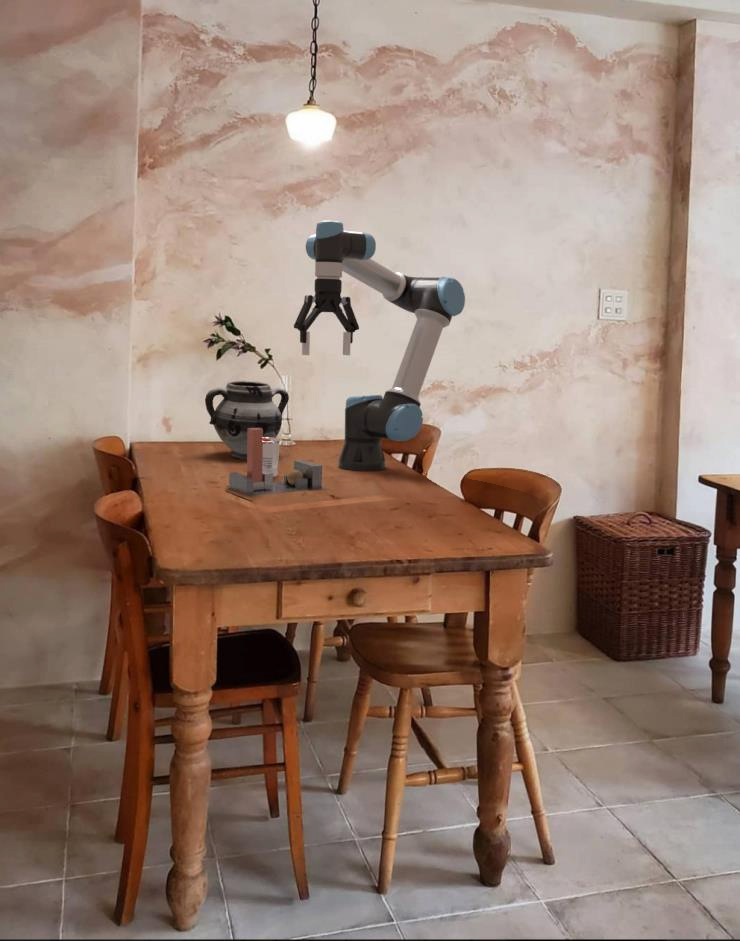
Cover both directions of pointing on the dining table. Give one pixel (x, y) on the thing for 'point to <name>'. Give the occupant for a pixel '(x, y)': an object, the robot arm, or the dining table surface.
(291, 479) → the walnut
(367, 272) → the robot arm
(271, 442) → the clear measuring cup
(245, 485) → the press base
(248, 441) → the ram handle
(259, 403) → the ceramic pot
